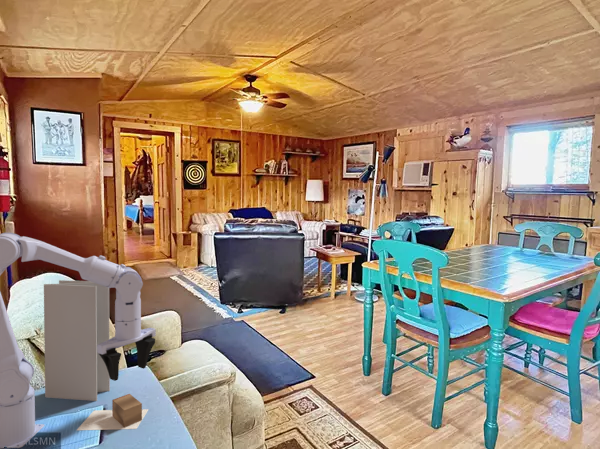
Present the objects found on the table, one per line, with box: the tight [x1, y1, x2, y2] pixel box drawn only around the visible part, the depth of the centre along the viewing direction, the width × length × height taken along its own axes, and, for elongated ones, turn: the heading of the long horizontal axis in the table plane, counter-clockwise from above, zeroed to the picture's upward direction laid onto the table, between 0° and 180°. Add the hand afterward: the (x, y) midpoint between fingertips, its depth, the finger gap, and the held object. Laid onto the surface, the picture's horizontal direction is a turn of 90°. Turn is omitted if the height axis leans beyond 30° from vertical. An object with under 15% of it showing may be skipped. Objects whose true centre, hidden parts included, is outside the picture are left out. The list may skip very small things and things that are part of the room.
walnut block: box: [111, 393, 143, 428], centre depth 86 cm, size 7×4×4 cm, turn 48°
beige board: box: [76, 408, 149, 431], centre depth 86 cm, size 13×8×1 cm, turn 94°
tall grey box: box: [43, 279, 111, 402], centre depth 97 cm, size 14×6×30 cm, turn 84°
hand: (128, 373), depth 90 cm, fingers open, 7 cm apart
